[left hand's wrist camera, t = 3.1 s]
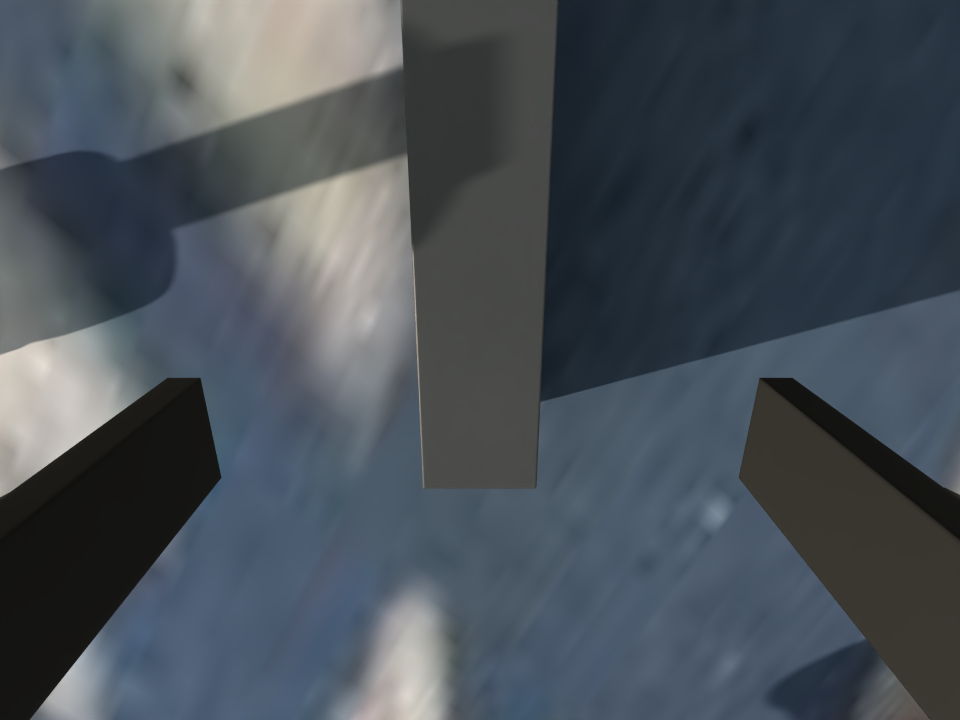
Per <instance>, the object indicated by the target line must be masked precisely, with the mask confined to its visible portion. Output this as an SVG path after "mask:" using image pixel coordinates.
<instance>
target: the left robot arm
mask: <svg viewBox="0 0 960 720" xmlns="http://www.w3.org/2000/svg"><path fill="white" fill-rule="evenodd" d="M220 479H221V474H220V469H219V464H218V460H217V455H216V450H215V445H214V441H213V436H212V431H211V426H210V422H209V417H208V412H207V407H206V403H205V398H204V393H203V388H202V383H201V379H200V378H167V379H166V380H164V381H163V382H161V383H160V384H159V385H157V386H156V387H155V388H153V389H152V390H150V391H149V392H148V393H146V394H145V395H143V396H142V397H141V398H139V399H138V400H137V401H135V402H134V403H132V404H131V405H130V406H128V407H127V408H126V409H124V410H123V411H121V412H120V413H119V414H117V415H116V416H115V417H113V418H112V419H110V420H109V421H108V422H106V423H105V424H104V425H102V426H101V427H99V428H98V429H97V430H95V431H94V432H93V433H91V434H90V435H88V436H87V437H86V438H84V439H83V440H82V441H80V442H79V443H77V444H76V445H75V446H73V447H72V448H71V449H69V450H68V451H66V452H65V453H64V454H62V455H61V456H59V457H58V458H57V459H55V460H54V461H53V462H51V463H50V464H48V465H47V466H46V467H44V468H43V469H42V470H40V471H39V472H37V473H36V474H35V475H33V476H32V477H31V478H29V479H28V480H26V481H25V482H24V483H22V484H21V485H20V486H18V487H17V488H15V489H14V490H13V491H11V492H10V493H8V494H6V495H4V496H2V497H0V720H30V719H31V717H32V716H33V715H34V714H35V712H36V711H37V710H38V709H39V707H40V706H41V705H42V703H43V702H44V701H45V700H46V698H47V697H48V696H49V695H50V693H51V692H52V691H53V690H54V688H55V687H56V686H57V685H58V683H59V682H60V681H61V679H62V678H63V677H64V676H65V674H66V673H67V672H68V671H69V669H70V668H71V667H72V666H73V664H74V663H75V662H76V661H77V659H78V658H79V657H80V655H81V654H82V653H83V652H84V650H85V649H86V648H87V647H88V645H89V644H90V643H91V642H92V640H93V639H94V638H95V637H96V635H97V634H98V633H99V631H100V630H101V629H102V628H103V626H104V625H105V624H106V623H107V621H108V620H109V619H110V618H111V616H112V615H113V614H114V613H115V611H116V610H117V609H118V608H119V606H120V605H121V604H122V602H123V601H124V600H125V599H126V597H127V596H128V595H129V594H130V592H131V591H132V590H133V589H134V587H135V586H136V585H137V584H138V582H139V581H140V580H141V578H142V577H143V576H144V575H145V573H146V572H147V571H148V570H149V568H150V567H151V566H152V565H153V563H154V562H155V561H156V560H157V558H158V557H159V556H160V554H161V553H162V552H163V551H164V549H165V548H166V547H167V546H168V544H169V543H170V542H171V541H172V539H173V538H174V537H175V536H176V534H177V533H178V532H179V530H180V529H181V528H182V527H183V525H184V524H185V523H186V522H187V520H188V519H189V518H190V517H191V515H192V514H193V513H194V512H195V510H196V509H197V508H198V507H199V505H200V504H201V503H202V501H203V500H204V499H205V498H206V496H207V495H208V494H209V493H210V491H211V490H212V489H213V488H214V486H215V485H216V484H217V483H218V481H219V480H220ZM739 479H740V480H741V481H742V483H743V484H744V485H745V486H746V488H747V489H748V490H749V491H750V493H751V494H752V495H753V496H754V498H755V499H756V500H757V501H758V503H759V504H760V505H761V507H762V508H763V509H764V510H765V512H766V513H767V514H768V515H769V517H770V518H771V519H772V520H773V522H774V523H775V524H776V525H777V527H778V528H779V529H780V530H781V532H782V533H783V534H784V536H785V537H786V538H787V539H788V541H789V542H790V543H791V544H792V546H793V547H794V548H795V549H796V551H797V552H798V553H799V554H800V556H801V557H802V558H803V560H804V561H805V562H806V563H807V565H808V566H809V567H810V568H811V570H812V571H813V572H814V573H815V575H816V576H817V577H818V578H819V580H820V581H821V582H822V584H823V585H824V586H825V587H826V589H827V590H828V591H829V592H830V594H831V595H832V596H833V597H834V599H835V600H836V601H837V602H838V604H839V605H840V606H841V608H842V609H843V610H844V611H845V613H846V614H847V615H848V616H849V618H850V619H851V620H852V621H853V623H854V624H855V625H856V626H857V628H858V629H859V630H860V631H861V633H862V634H863V635H864V637H865V638H866V639H867V640H868V642H869V643H870V644H871V645H872V647H873V648H874V649H875V650H876V652H877V653H878V654H879V655H880V657H881V658H882V659H883V661H884V662H885V663H886V664H887V666H888V667H889V668H890V669H891V671H892V672H893V673H894V674H895V676H896V677H897V678H898V679H899V681H900V682H901V683H902V685H903V686H904V687H905V688H906V690H907V691H908V692H909V693H910V695H911V696H912V697H913V698H914V700H915V701H916V702H917V703H918V705H919V706H920V707H921V709H922V710H923V711H924V712H925V714H926V715H927V716H928V717H929V719H930V720H960V495H959V494H957V493H955V492H953V491H951V490H949V489H947V488H943V487H942V486H940V485H939V484H938V483H936V482H935V481H934V480H932V479H931V478H929V477H928V476H927V475H925V474H924V473H923V472H921V471H920V470H918V469H917V468H916V467H914V466H913V465H912V464H910V463H909V462H907V461H906V460H905V459H903V458H902V457H900V456H899V455H898V454H896V453H895V452H894V451H892V450H891V449H889V448H888V447H887V446H885V445H884V444H883V443H881V442H880V441H878V440H877V439H876V438H874V437H873V436H872V435H870V434H869V433H867V432H866V431H865V430H863V429H862V428H861V427H859V426H858V425H856V424H855V423H854V422H852V421H851V420H850V419H848V418H847V417H845V416H844V415H843V414H841V413H840V412H839V411H837V410H836V409H834V408H833V407H832V406H830V405H829V404H828V403H826V402H825V401H823V400H822V399H821V398H819V397H818V396H817V395H815V394H814V393H812V392H811V391H810V390H808V389H807V388H805V387H804V386H803V385H801V384H800V383H799V382H797V381H796V380H794V379H793V378H760V379H759V383H758V388H757V393H756V398H755V402H754V407H753V412H752V417H751V422H750V426H749V431H748V436H747V441H746V445H745V450H744V455H743V460H742V464H741V469H740V474H739Z"/></svg>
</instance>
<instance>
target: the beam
mask: <svg viewBox="0 0 960 720" xmlns="http://www.w3.org/2000/svg"><path fill="white" fill-rule="evenodd" d="M400 2H401V23H402V45H403V66H404V87H405V109H406V130H407V152H408V173H409V195H410V216H411V238H412V259H413V281H414V302H415V324H416V345H417V366H418V388H419V409H420V431H421V452H422V474H423V488H425V489H535V488H536V483H537V462H538V440H539V418H540V397H541V375H542V353H543V332H544V310H545V288H546V267H547V245H548V223H549V202H550V180H551V158H552V136H553V115H554V93H555V71H556V50H557V28H558V6H559V0H400Z"/></svg>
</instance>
